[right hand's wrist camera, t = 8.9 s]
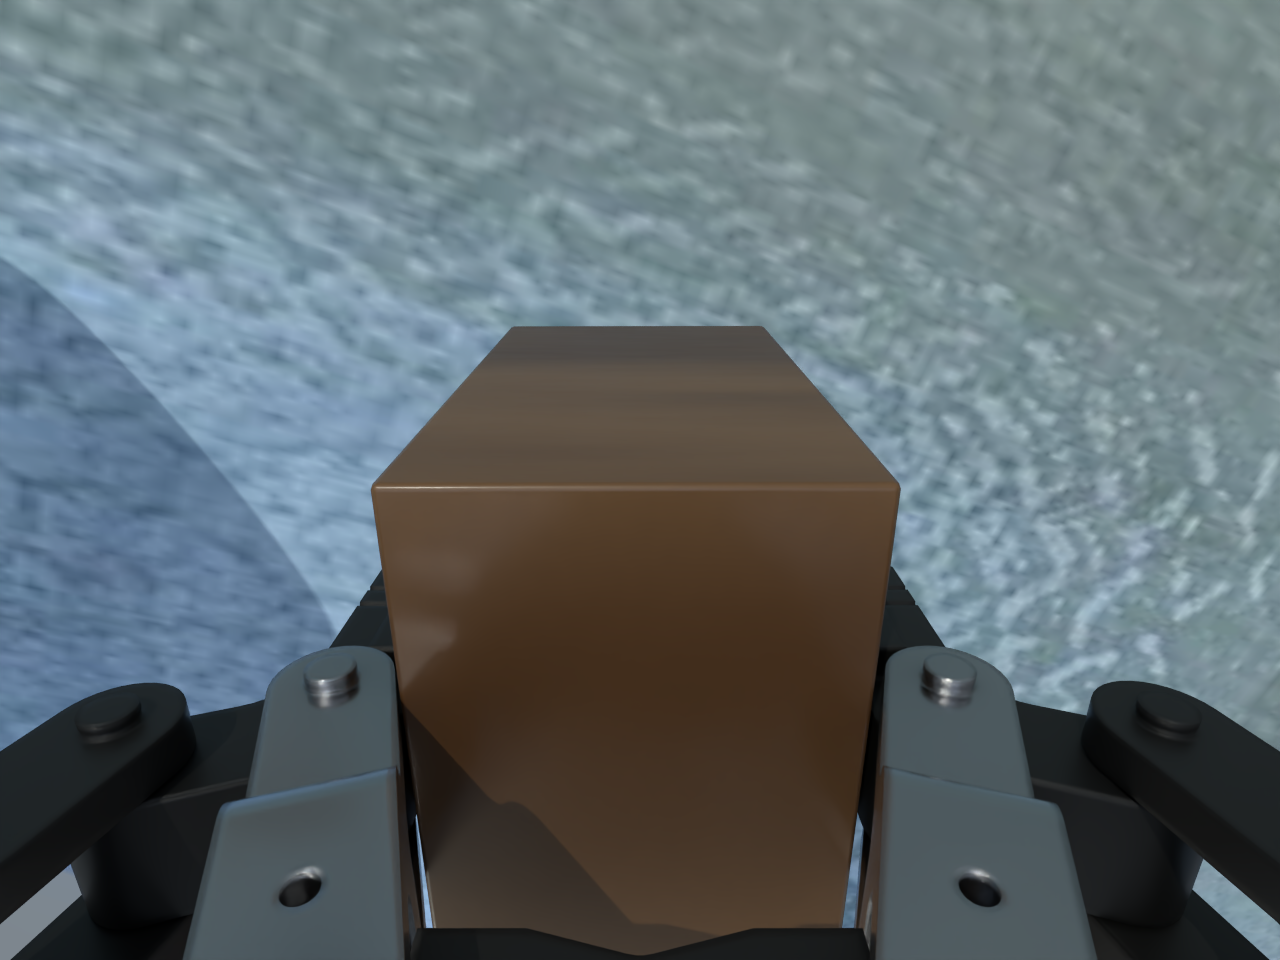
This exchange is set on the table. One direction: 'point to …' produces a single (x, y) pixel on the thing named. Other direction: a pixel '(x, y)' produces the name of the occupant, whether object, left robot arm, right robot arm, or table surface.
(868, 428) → the table surface
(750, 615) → the block
